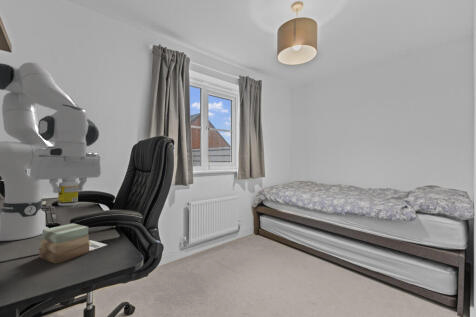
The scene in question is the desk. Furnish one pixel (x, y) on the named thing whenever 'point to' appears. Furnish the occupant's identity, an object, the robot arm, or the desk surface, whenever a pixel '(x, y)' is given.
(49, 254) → the brick tower
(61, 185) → the supplement bottle
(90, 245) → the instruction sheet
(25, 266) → the desk surface
